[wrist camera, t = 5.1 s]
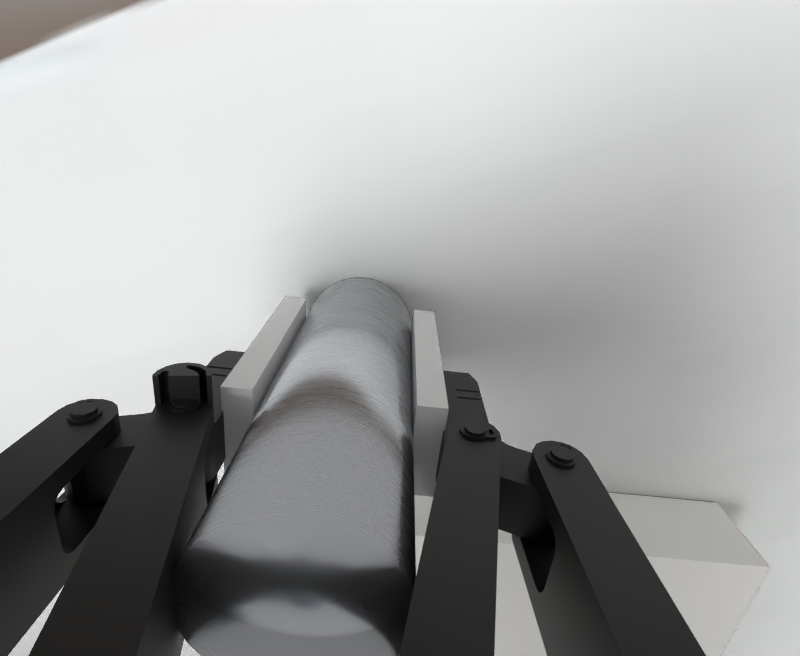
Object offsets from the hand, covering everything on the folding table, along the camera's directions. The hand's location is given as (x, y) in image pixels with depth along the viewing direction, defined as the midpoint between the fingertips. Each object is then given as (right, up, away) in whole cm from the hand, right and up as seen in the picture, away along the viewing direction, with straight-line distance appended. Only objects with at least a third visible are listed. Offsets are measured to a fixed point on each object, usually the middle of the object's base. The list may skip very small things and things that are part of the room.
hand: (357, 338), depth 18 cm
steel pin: (0, 0, +1) cm, 1 cm away
